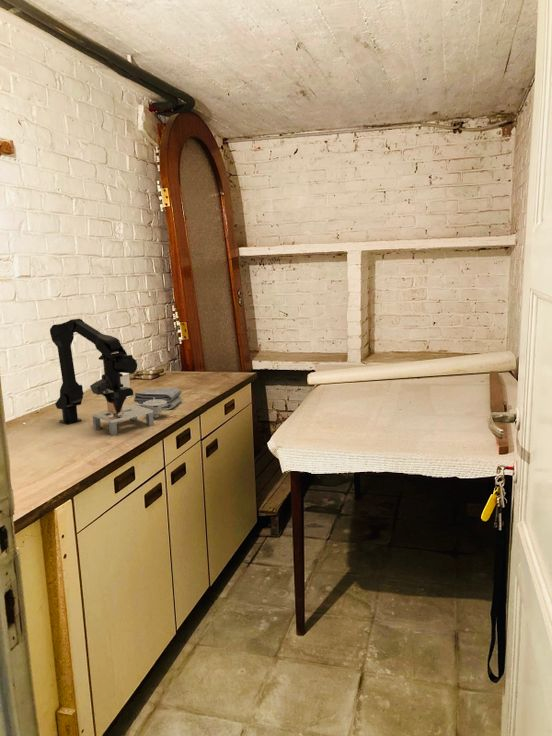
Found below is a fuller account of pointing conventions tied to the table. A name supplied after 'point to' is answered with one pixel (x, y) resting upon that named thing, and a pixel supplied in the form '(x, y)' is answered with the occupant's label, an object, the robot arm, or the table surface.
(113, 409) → the peg
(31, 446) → the table surface
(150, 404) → the showerhead
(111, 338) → the robot arm
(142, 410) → the keyhole stand
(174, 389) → the towel
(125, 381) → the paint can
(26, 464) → the table surface
